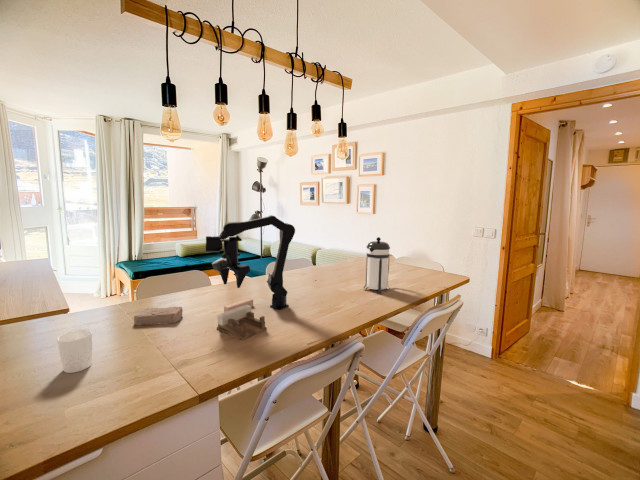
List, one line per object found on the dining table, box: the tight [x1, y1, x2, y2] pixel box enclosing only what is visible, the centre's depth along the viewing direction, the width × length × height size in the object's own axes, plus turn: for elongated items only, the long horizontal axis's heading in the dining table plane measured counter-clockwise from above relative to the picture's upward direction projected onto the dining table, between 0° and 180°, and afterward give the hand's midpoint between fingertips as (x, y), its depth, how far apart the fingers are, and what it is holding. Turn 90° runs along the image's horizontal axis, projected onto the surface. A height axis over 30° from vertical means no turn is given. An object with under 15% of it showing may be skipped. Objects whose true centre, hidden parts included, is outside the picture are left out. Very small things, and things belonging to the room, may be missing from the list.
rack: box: [216, 311, 267, 341], centre depth 118 cm, size 12×15×5 cm
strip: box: [216, 305, 252, 326], centre depth 120 cm, size 14×3×4 cm, turn 144°
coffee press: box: [363, 237, 391, 294], centre depth 171 cm, size 17×16×30 cm
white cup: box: [56, 329, 93, 374], centre depth 90 cm, size 8×8×10 cm
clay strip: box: [223, 298, 254, 313], centre depth 139 cm, size 14×3×4 cm, turn 143°
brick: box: [133, 306, 183, 326], centre depth 125 cm, size 17×8×5 cm, turn 100°
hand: (231, 286), depth 134 cm, fingers open, 9 cm apart
